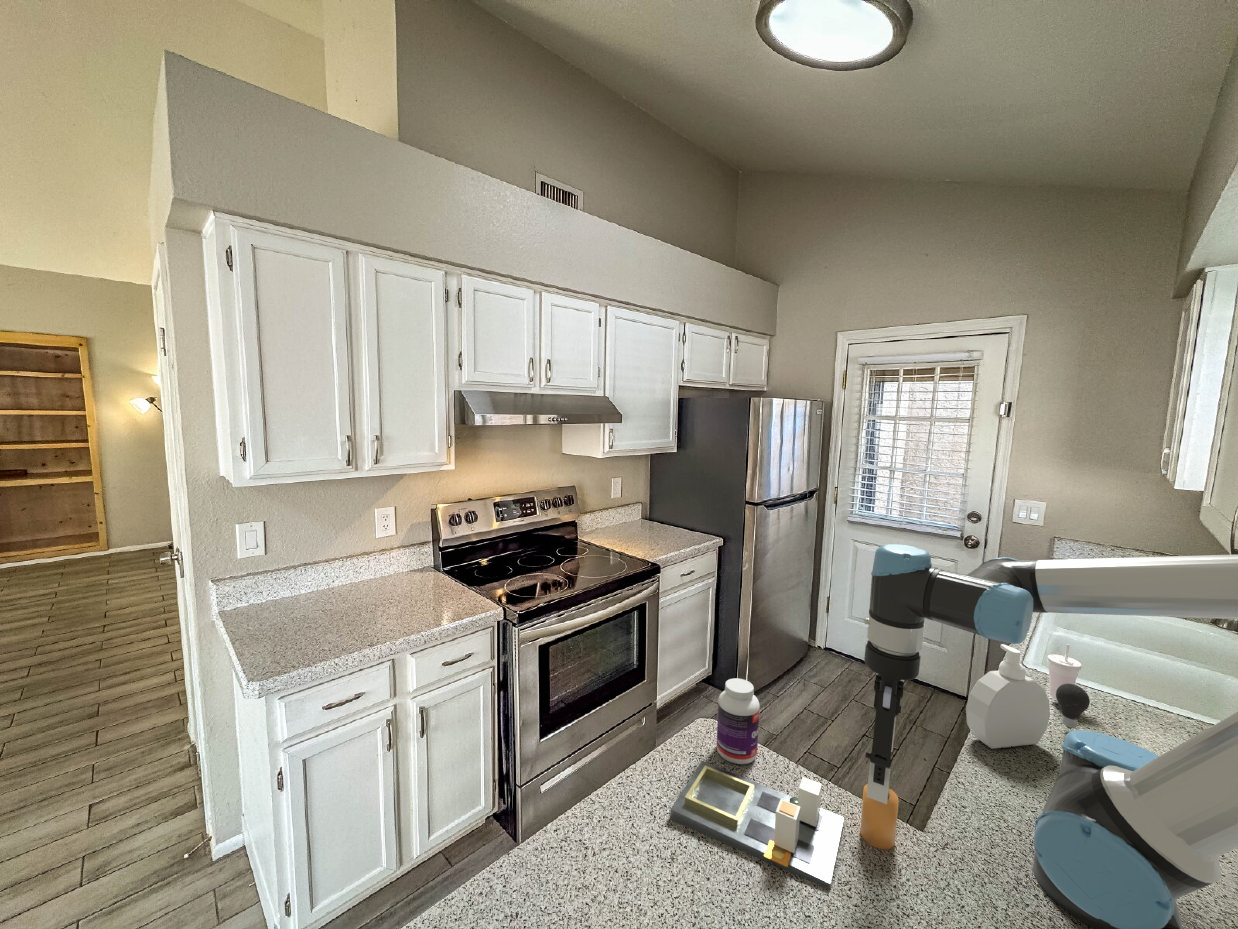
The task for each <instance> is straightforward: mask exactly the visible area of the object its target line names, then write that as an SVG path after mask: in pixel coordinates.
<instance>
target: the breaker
mask: <svg viewBox="0 0 1238 929" xmlns="http://www.w3.org/2000/svg"><path fill="white" fill-rule="evenodd" d="M822 784H823V783H820V782H818V781H815V780H812V779H809V778H808V777H804V776H802V778H801V781H800V782H799V787H798V794H797V795H798V796H797V798H798V806H800V821H803V822H805V823H807V824H810V825H812V826H815V827H816V826H817V822H818V819H819V815H820V808H821V798H822V786H823V785H822Z"/></svg>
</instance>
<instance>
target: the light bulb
mask: <svg viewBox="0 0 1238 929" xmlns="http://www.w3.org/2000/svg"><path fill="white" fill-rule="evenodd" d="M1088 694H1089V693H1087V691H1085V690H1084V689H1083V687H1080V686H1079V685H1077V684H1075V685H1074V684H1063V685H1061V686H1059V687H1058V689H1057V691H1056V698H1057V700H1056V701H1057V702H1058V704H1059V706H1060V709H1061V714H1062V718H1061V722H1062V725H1064V726H1065V727H1066V729H1068V730H1072V729H1076V728H1077V726H1078V720H1079V719H1080V717H1081V715H1082V714H1083V713H1084V712H1085V711H1087V709H1088V708H1089V706H1090V703H1091V702H1090V701H1091V700H1090V697H1089V695H1088Z"/></svg>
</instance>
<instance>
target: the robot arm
mask: <svg viewBox="0 0 1238 929" xmlns="http://www.w3.org/2000/svg"><path fill="white" fill-rule="evenodd" d="M932 565H933V563H932V557H931V554H930V553H929V551H927V550H924V549H922V548H918V547H916V546H912V545H907V544H906V545H905V544H898V543H894V544H893V543H890V544H889V543H888V544H883V545H881V546H879V547H877V548H876V550H875V553H874V558H873V565H872V570H871V573H870V574H871V582H870V597H869V609H868V618H867V617H864V618H863V623H864V624H865V625H867V632H866V638H867V640H866V642H865V649H864V659H863V660H864V664H865V665H866V667H867V668H868V669H869V670H870V671H871V672H873V673H875V679H874V684H873V691H874V699H873V700H874V701H873V710H874V711H875V717H874V718H875V719H874V725H873V726H874V727H873V735H872V742H871V743H872V745H871V752H870V753H869V752H867V751H866V752H865V758H867V759H869V768H868V769H869V770H868V778H867V780H868V781H867V784H868V788H867V797H868V798H871V799H874V800H876V801H879V802H882V803H884V804H887V800H888V790H889V788H890V778H891V768H892V759H891V758H892V752H894V751H893V750H894V740H895V732H896V721H897V717H899V716H900V714H901V711H902V706H901V701H902V700H903V696H904V684H905V681H911V680H914V679H916V678H918V676H919V674H920V665H921V657H922V656H921V652H920V651H921V650H922V649H923V640H924V630H925V619H927V620H930V621H932V622H933V621H934V622H937V623H939V624H940V623H941V624H943V625H947V626H948V627H952V628H956V629H959V630H963V631H966V632H968V633H972V634H976V635H978V636H981V637H983V638H985V639H988V640H994V641H997V642H998V641H999V642H1002V643H1003V642H1004V643H1008V644H1012V645H1019V644H1022V643H1023V642H1025V640H1026V638H1027V636H1028V633H1029V630H1030V628H1031V625H1032V618H1033V615H1034V614H1033V613H1039V614H1040V613H1041V614H1042V613H1044V614H1045V613H1046V614H1047V613H1050V614H1051V613H1053V614H1054V613H1056V614H1077V615H1079V614H1080V615H1081V614H1082V615H1085V614H1086V615H1112V616H1113V615H1114V616H1136V617H1137V616H1140V617H1145V616H1146V617H1164V618H1165V617H1167V618H1171V617H1172V618H1197V619H1218V620H1219V619H1225V620H1238V554H1211V555H1209V554H1208V555H1207V554H1206V555H1177V556H1174V555H1173V556H1172V555H1171V556H1169V555H1168V556H1144V557H1143V556H1141V557H1138V556H1137V557H1136V556H1134V557H1109V558H1108V557H1105V558H1103V557H1102V558H1101V557H1100V558H1099V557H1098V558H1071V559H1038V560H1019V559H1017V558H1015V557H1014V558H1013V557H1008V556H1007V557H1006V556H1004V557H996V558H991V559H989V560H987V561H984V562H982V563H981V564H980V565H979V566H977V568H975V569H973V570H972V571H971V572H969V573H967V574H963V573H959V572H954V571H953V572H952V571H950V570H949V571H948V570H946V569H942V568H938V567H934V566H932ZM1061 749H1063V750H1062V756H1061V763H1060V768H1059V771H1058V773H1057V776H1056V779H1055V781H1054V784H1053V786H1052V788H1051V791H1050V793H1049V794H1048V798H1047V799H1046V801H1045V804H1044V807H1043V809H1042V811H1041V814H1039V815H1038V816H1037V818H1036V819H1035V822H1034V835H1033V847H1034V854H1033V863H1032V873H1033V875H1034V877H1035V879H1036V882H1037V883H1038V885H1039V886H1040V887H1041V889H1042V890H1043V891H1044V892H1045V893H1046V894H1047V896H1048V897H1050V898H1051V900H1052V901H1053V902H1055V903H1056V904H1057V905H1058V906H1059V907H1061V908H1062V909H1063V910H1064V912H1067V914H1069V915H1071V916H1072V917H1074V918H1075V919H1076V920H1078V921H1079V922H1081V923H1082V924H1084V925H1086V926H1088V927H1090V928H1091V929H1183V922H1182V917H1181V914H1180V910H1179V908H1178V904H1177V901H1176V900H1178V899H1180V898H1182V897H1183V896H1186V895H1189V894H1191V893H1194V892H1196V891H1198V890H1201V889H1203V888H1206V887H1208V886H1210V885H1213V884H1216V883H1218V881H1220V880H1221V879H1222V869H1221V864H1220V863H1221V862H1220V857H1221V856H1223V855H1225V854H1228V853H1230V852H1233V851H1235V850H1238V711H1236V712H1235V713H1232V714H1231V715H1229V716H1227V717H1226V718H1224V719H1222V720H1221V721H1219V722H1217V723H1215V724H1214V725H1211V726H1210V727H1208V728H1207V729H1205V730H1203V731H1201V732H1200V733H1198V734H1196V735H1194V736H1193V737H1191V738H1189V739H1187V740H1186V741H1184V742H1182V743H1180V744H1178V745H1177V746H1175V747H1174V748H1171V749H1170V750H1168V751H1167V752H1165V753H1163V754H1161V755H1158V754H1156V753H1155V752H1154V751H1150V750H1148V749H1147V748H1145V747H1142V746H1139V745H1137V744H1135V743H1132V742H1130V741H1127V740H1125V739H1122V738H1119V737H1115V736H1112V735H1108V734H1106V733H1101V732H1096V731H1091V730H1084V729H1083V730H1081V729H1080V730H1079V729H1078V730H1077V729H1076V730H1072V731H1069V732H1068V733H1066V735H1065V737H1064V741H1063V744H1061Z"/></svg>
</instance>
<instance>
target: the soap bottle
mask: <svg viewBox="0 0 1238 929" xmlns="http://www.w3.org/2000/svg"><path fill="white" fill-rule="evenodd" d="M999 648H1001V649H1002V650H1003V651H1005V652H1006V653H1007V656H1006V659H1005V660H1002V661H1000V663H999V665H998V670H990V671H988V672H987V673H985V674H984V675H983V676H981V678H979V679H978V680H977V681H976V683H975V685H974V686H973V688H972V690H971V691H970V692H969V696H968V698H967V699H968V700H967V703H966V707H965V713H966V714H965V715H966V724H967V726H968V728H969V730H970V732H971V729H972V732H971V734H972V736H974V738H977V739H978V740H979V741H981V742H982V743H983V744H985V746H988V748H990V749H991V750H992V749H1001V748H1002V747H1003V748H1011V746H1012V747H1019V746H1029V745H1037V744H1039V742H1040V740H1041V739H1042V738H1043V736H1044V734H1045V733H1046V732H1047V728H1048V724H1049V721H1050V717H1051V708H1050V699H1049V697H1048V695H1047V693H1046V692H1047V691H1046V690H1045V688H1044V686H1042V685H1041V684H1040V683H1039V682H1037V681H1036V680H1034V679H1033V678H1031V677H1030V676H1027V675H1026V674H1027V672H1026V669H1025V666H1024V665H1022V664H1021V663H1020V659H1021V650H1020V649H1016V648H1014V647H1012V646H1010V645H1007V644H1005V643H1003V644H1002V643H1001V644H1000V647H999ZM972 727H973V728H972Z"/></svg>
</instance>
